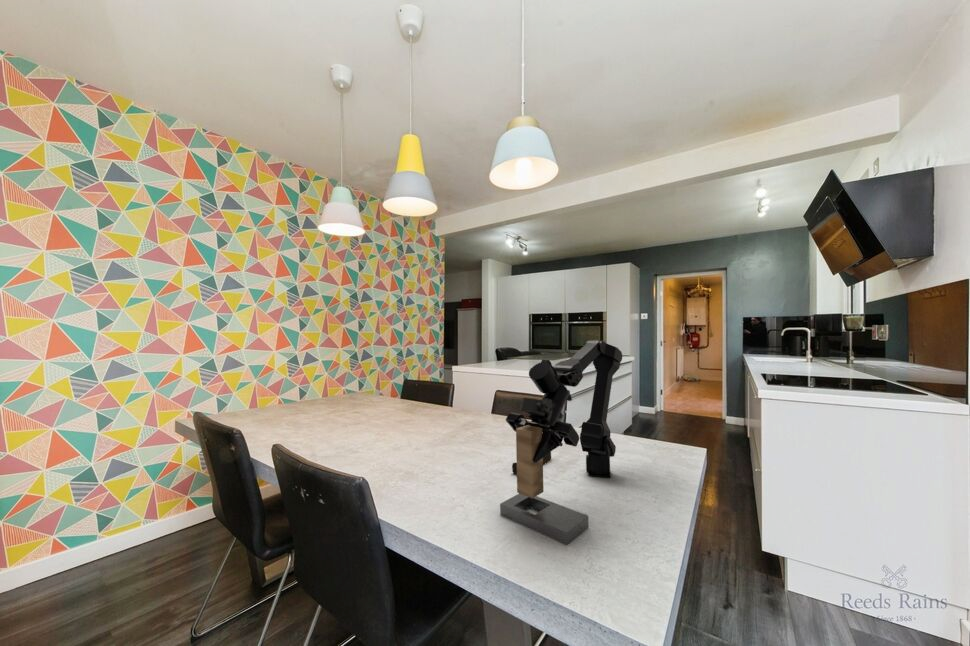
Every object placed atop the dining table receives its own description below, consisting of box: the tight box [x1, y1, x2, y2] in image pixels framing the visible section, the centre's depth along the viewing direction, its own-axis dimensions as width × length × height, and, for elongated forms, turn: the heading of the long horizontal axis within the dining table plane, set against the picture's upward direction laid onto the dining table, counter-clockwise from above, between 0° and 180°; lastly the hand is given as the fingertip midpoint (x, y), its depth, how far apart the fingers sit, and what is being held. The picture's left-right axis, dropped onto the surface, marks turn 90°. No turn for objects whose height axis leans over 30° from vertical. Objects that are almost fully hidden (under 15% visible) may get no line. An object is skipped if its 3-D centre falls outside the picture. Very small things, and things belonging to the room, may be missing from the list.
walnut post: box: [515, 425, 544, 498], centre depth 84 cm, size 4×4×15 cm
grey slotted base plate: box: [499, 493, 589, 546], centre depth 81 cm, size 18×9×2 cm, turn 46°
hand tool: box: [511, 451, 552, 476], centre depth 114 cm, size 19×4×5 cm, turn 134°
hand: (526, 459), depth 83 cm, fingers closed on walnut post, 4 cm apart
